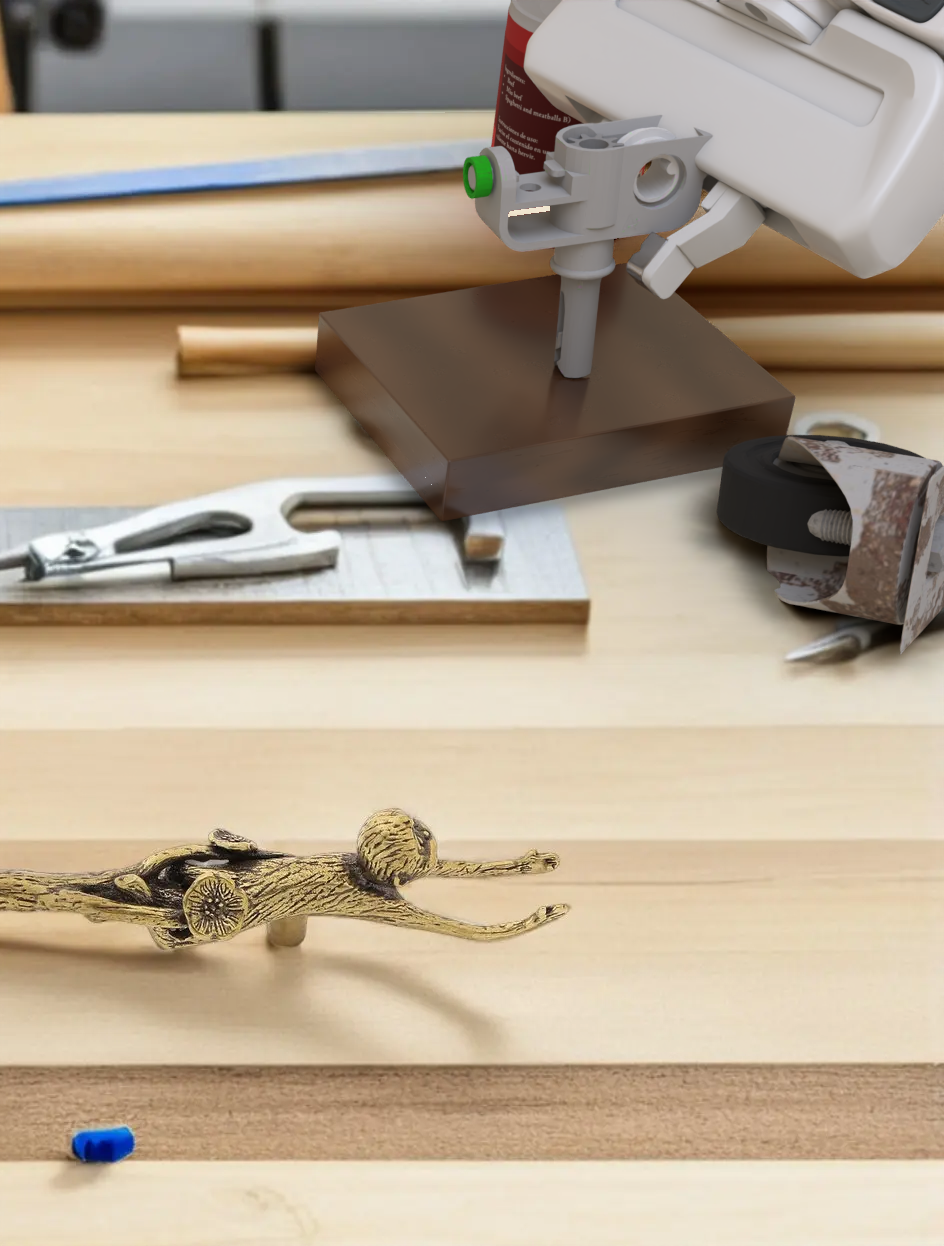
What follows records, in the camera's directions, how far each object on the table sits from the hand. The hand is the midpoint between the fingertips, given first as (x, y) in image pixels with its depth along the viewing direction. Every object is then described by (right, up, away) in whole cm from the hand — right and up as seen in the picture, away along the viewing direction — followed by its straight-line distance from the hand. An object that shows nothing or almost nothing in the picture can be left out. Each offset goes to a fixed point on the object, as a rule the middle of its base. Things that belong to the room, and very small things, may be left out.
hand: (606, 262), depth 85 cm
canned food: (+2, +7, +21) cm, 22 cm away
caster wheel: (+8, -13, -2) cm, 15 cm away
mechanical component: (-1, -4, +3) cm, 5 cm away
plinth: (-2, -5, +6) cm, 8 cm away
